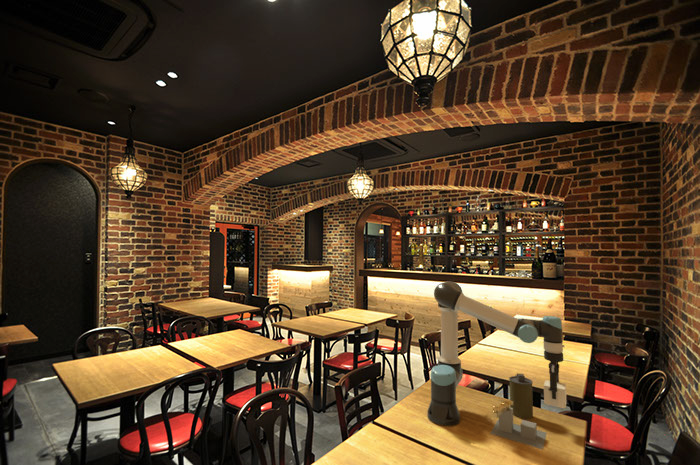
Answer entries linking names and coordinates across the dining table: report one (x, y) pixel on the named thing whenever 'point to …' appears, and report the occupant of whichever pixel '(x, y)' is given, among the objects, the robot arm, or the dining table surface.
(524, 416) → the canister
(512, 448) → the dining table surface
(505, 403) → the latch bar
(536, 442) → the latch base
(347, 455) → the dining table surface
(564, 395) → the cover
